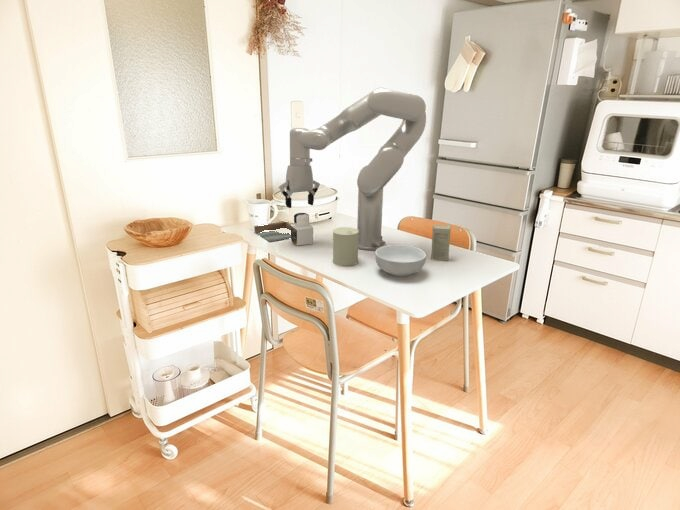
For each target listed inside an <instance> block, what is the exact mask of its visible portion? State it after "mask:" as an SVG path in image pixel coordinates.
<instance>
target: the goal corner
mask: <svg viewBox="0 0 680 510" xmlns="http://www.w3.org/2000/svg"><path fill="white" fill-rule="evenodd" d="M284 221H285V220H284ZM284 221H277V222H271V223H267V224H268V225H264V224H263V225H264V226H258V225H254V226H253V228H254V234H256V233H257V234H256V235H258V236H259V235H260V236H259V237H260V238H262V239H264V240H265V241H267V242H269V243H274V242H279V240H281V241H284V239H286V240H290V239H289V238H291V235H290V234H289V233H287V234H286V233H285V234H284V233H283V234H282V233H279V232H277V231H276V232H275V231H269V232H262V231H264V230H276V229H280V228H287V229H289V230H291V225H292V224H293V223H292V222H290V221H288V222H284ZM289 222H290V223H289ZM260 232H262V233H260Z"/></svg>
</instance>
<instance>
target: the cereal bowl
mask: <svg viewBox="0 0 680 510" xmlns="http://www.w3.org/2000/svg"><path fill="white" fill-rule="evenodd" d="M374 256H375V257H374V259H375V262H376V265H377V267H378V268H379V269H380V270H382V271H383V272H386V273H387V274H390V275H392V276H395V277H406V276H409V275H413V274H415V273H418V272H419V271H421V270H422V269H423V267H424V266H425V263H426V259H427V258H426V257H427V255H426V252H425V251H424V250H422V249H420V248H419V247H417V246H412V245H409V244H408V245H407V244H388V245H386V244H385V246H382V247H380V248H378V249H376V250H375V252H374Z"/></svg>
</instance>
